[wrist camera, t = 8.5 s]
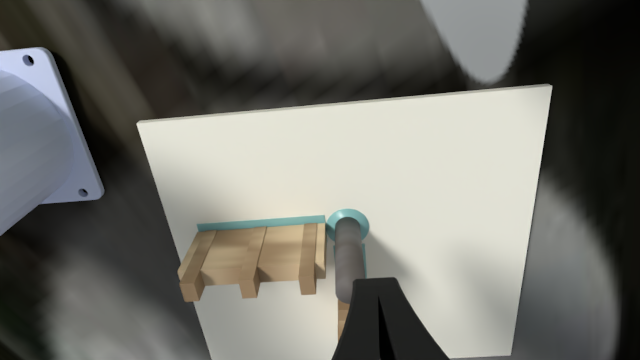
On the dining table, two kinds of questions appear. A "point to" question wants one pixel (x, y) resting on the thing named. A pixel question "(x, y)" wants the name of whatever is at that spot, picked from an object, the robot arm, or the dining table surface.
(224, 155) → the mat
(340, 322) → the fence panel
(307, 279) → the fence fixed panel
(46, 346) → the dining table surface
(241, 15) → the dining table surface
